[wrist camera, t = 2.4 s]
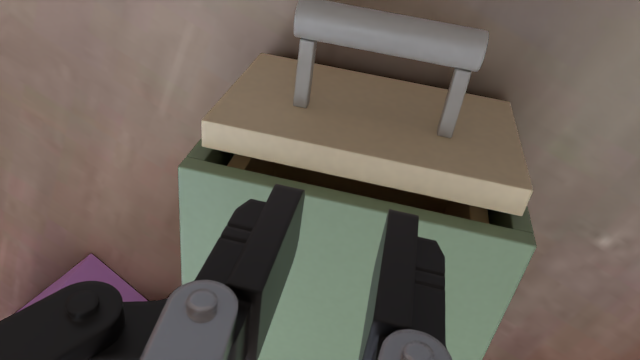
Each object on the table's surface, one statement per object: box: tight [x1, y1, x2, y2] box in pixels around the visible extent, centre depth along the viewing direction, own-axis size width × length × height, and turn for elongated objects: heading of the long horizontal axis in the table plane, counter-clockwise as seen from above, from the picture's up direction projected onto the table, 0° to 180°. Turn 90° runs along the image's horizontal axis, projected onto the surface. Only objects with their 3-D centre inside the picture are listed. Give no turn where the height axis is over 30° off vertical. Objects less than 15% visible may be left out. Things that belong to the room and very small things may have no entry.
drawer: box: [202, 0, 533, 224], centre depth 25 cm, size 18×12×8 cm
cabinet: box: [178, 138, 536, 360], centre depth 27 cm, size 15×14×10 cm
